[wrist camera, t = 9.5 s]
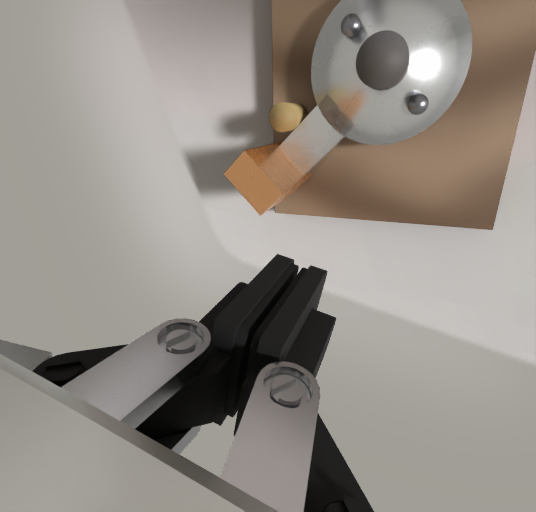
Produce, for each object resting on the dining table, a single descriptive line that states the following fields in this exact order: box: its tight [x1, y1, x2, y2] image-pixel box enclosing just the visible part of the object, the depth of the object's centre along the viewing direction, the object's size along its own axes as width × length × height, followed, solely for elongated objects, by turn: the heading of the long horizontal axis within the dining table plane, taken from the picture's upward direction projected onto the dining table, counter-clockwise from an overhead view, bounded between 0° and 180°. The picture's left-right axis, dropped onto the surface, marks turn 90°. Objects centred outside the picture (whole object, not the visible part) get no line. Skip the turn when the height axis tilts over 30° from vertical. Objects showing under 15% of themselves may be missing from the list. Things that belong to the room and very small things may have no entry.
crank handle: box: [224, 0, 472, 215], centre depth 18 cm, size 13×8×6 cm, turn 135°
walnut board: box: [269, 0, 536, 230], centre depth 18 cm, size 18×14×6 cm
